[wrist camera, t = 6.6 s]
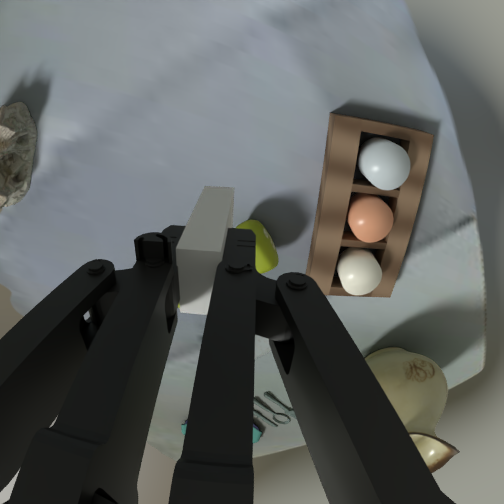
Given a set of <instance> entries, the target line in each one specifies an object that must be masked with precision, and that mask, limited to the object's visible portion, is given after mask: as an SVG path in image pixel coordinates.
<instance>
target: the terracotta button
mask: <svg viewBox="0 0 504 504" xmlns="http://www.w3.org/2000/svg"><path fill="white" fill-rule="evenodd" d="M346 220H347V222H348V224H349V226H350V227H351V229H352V231H353V233H354V234H355V236H356V237H357V238H358V239H360V240H361V241H364V242H368V243H371V242H377V241H379V240H381V239H383V238H384V237H385V236H387V234H388V233H389V232H390V230H391V228H392V226H393V220H394V218H393V213H392V211H391V209H390V208H389V207H388V205H387V204H386V203H385V202H384V201H383V200H382V199H381V198H380V197H379V196H378V195H376V194H368V193H360V192H359V193H357V194H355V195H353V196H352V197H351V198H350V200H349V205H348V210H347V215H346Z"/></svg>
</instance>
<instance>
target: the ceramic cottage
mask: <svg viewBox="0 0 504 504" xmlns="http://www.w3.org/2000/svg"><path fill="white" fill-rule="evenodd" d="M36 140H37V129H36V125H35V122H34V120H33V119H32V118H31V116H30V113H29V111H28V109H27V106H26V105H25V104H24V103H22V102H17V103H13V104H11V105H10V106H7V107H6V106H4V105H3V106H2V107H1V108H0V209H1V208H2V207H4V205H5V206H6V207H8V206H10V205H15V204H16V203H18V202H20V201H21V200H22V199H23V198H24V196H25V195H26V193H27V192H28V190H29V188H30V181H31V172H32V164H33V157H34V152H35V146H36Z"/></svg>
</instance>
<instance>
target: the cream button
mask: <svg viewBox="0 0 504 504" xmlns="http://www.w3.org/2000/svg"><path fill="white" fill-rule="evenodd" d="M336 269H337V272H338V275H339V277H340V280H341V283H342V286H343V288H344V289H345V290H346V291H347V292H348V293H350V294H352V295H364V294H367V293H369V292H371V291H373V290H374V289H375V288H376V287H377V286H378V285H379V283H380V281H381V278H382V270H381V268H380V266H379V264H378V262H377V261H376V259H375V257H374V255H373V254H372V252H371V251H370V250H369V249H368V248H361V247H350V248H347V249H346V250H344V251H343V252H342V253H341V254H340V256H339V257H338V259H337V263H336Z"/></svg>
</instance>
